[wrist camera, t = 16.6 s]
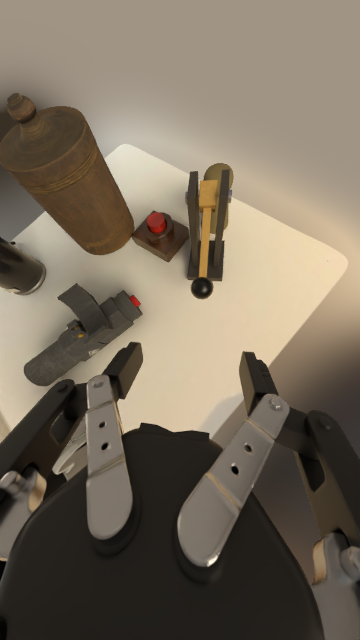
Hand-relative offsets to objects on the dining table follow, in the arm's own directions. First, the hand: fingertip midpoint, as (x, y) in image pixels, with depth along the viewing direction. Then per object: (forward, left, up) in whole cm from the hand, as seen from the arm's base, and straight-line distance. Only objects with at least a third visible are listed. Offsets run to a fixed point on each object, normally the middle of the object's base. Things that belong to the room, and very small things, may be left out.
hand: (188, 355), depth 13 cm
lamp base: (-23, +18, -19) cm, 34 cm away
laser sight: (-19, -8, -19) cm, 28 cm away
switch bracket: (-11, +18, -19) cm, 28 cm away
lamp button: (-23, +18, -14) cm, 32 cm away
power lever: (-8, +14, -9) cm, 19 cm away
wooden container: (-37, +13, -19) cm, 43 cm away
